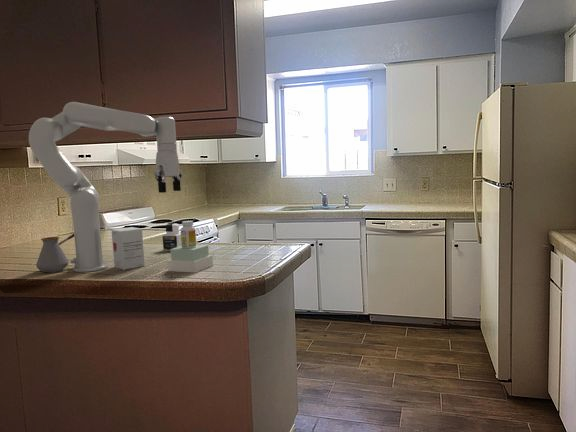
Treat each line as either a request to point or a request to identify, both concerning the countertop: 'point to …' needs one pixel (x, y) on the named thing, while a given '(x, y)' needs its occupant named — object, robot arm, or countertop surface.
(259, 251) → the countertop surface
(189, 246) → the supplement bottle
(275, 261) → the countertop surface
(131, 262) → the supplement box
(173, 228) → the medicine bottle
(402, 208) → the countertop surface
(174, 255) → the block
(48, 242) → the coffee pot
